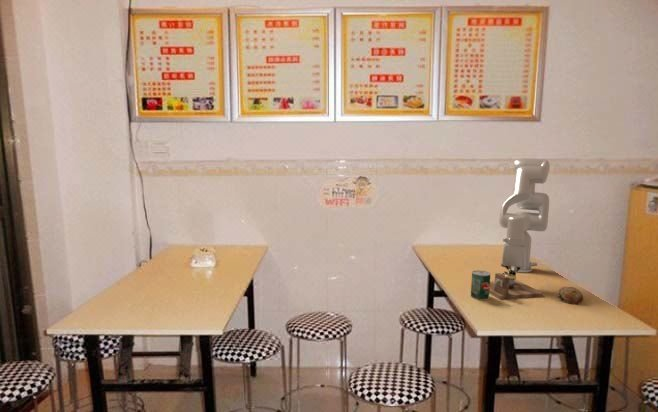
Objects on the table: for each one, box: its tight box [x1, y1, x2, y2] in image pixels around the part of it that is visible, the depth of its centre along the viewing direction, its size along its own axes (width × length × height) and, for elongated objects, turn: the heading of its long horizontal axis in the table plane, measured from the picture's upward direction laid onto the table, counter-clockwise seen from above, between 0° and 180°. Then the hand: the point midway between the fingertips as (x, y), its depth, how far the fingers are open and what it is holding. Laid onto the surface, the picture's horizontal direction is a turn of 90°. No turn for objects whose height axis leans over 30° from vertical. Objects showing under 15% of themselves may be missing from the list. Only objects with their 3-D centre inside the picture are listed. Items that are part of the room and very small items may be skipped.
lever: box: [501, 271, 517, 288], centre depth 225 cm, size 16×6×5 cm, turn 167°
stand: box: [489, 272, 544, 300], centre depth 219 cm, size 22×20×10 cm
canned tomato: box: [470, 270, 491, 301], centre depth 210 cm, size 8×8×11 cm
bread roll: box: [557, 286, 584, 305], centre depth 208 cm, size 10×10×8 cm
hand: (511, 279), depth 227 cm, fingers closed
